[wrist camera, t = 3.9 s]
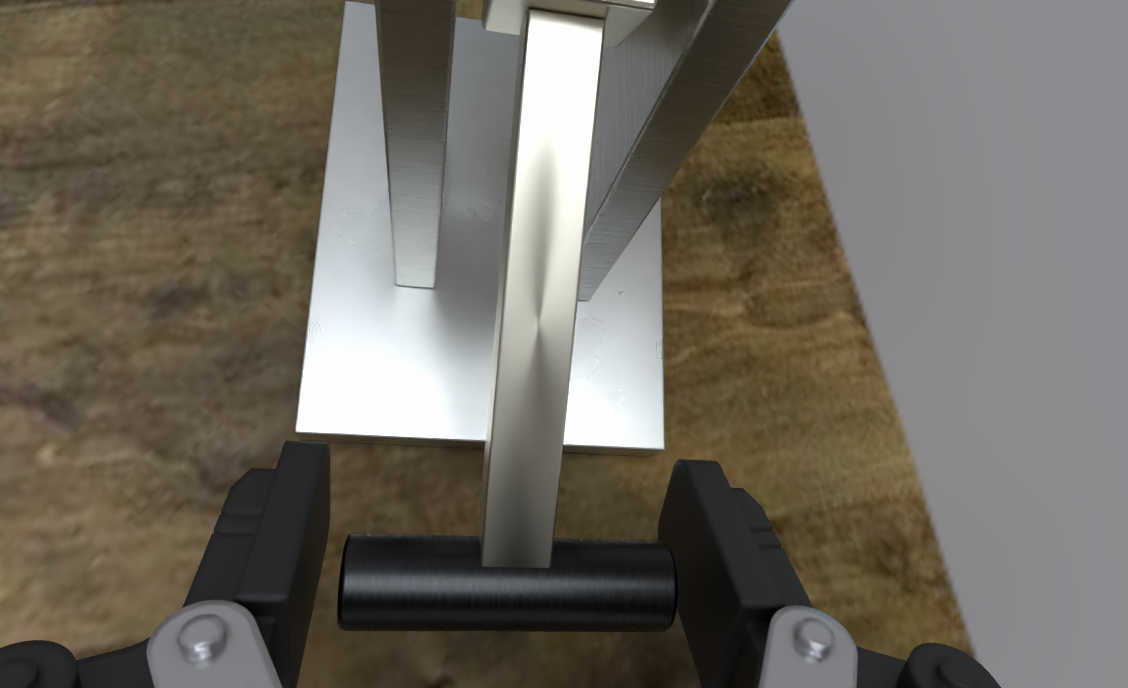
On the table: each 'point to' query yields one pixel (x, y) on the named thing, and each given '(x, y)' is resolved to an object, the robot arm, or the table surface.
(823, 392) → the table surface
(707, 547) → the robot arm
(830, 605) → the table surface
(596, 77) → the lever
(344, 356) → the bracket
